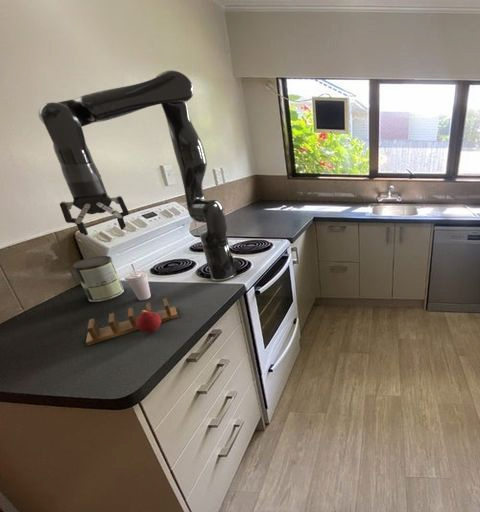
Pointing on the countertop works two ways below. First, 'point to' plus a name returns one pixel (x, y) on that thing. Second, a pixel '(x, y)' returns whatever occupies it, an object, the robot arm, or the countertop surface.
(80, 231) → the robot arm
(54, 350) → the countertop surface
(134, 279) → the smoothie
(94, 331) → the dish rack
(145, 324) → the red round piece
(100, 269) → the coffee can
